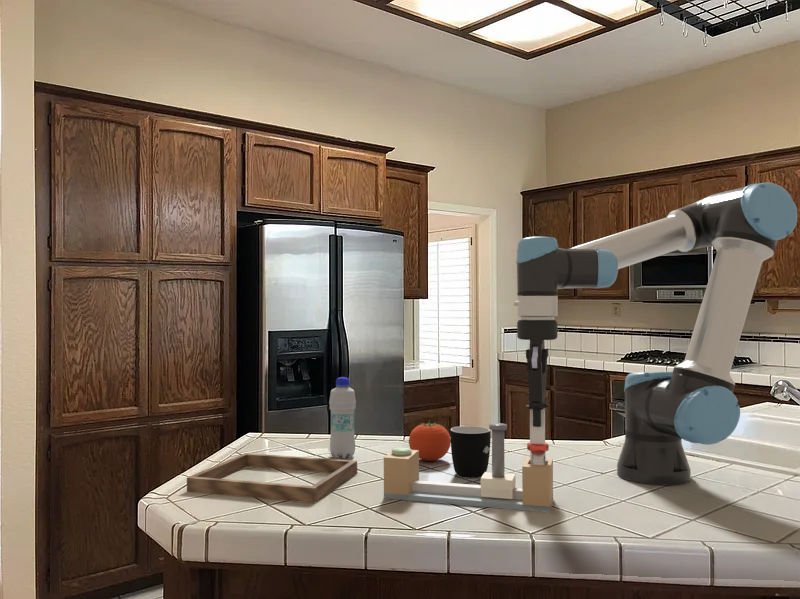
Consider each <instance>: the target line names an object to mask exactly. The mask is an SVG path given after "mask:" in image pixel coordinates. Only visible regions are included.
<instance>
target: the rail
mask: <svg viewBox="0 0 800 599" xmlns="http://www.w3.org/2000/svg"><path fill="white" fill-rule="evenodd" d="M545 463H546V465H533V464H530V456H526V457H525V460H524V462H523V464H522V468H521V469H522V471H521V474H522V475H521V476H522V480H521V482H522V484H521V485H522V488H521V487H515V488H514V489H513V499H503V498H491V497H481V484H469V483H468V484H467V483H455V482H443V481H430V480H429V481H428V480H420V458H419V450H411V449H410V447H394V448H392V449H391V452H389V453H388V454H387V455H385V456H384V457H383V498H384V499H389V500H390V499H391V500H403V501H412V502H413V501H415V502H422V503H423V502H424V503H425V502H427V503H434V504H435V503H437V504H450V505H451V504H452V505H459V506H460V505H461V506H474V507H483V508H494V509H495V508H497V509H507V510H517V511H518V510H519V511H520V510H522V511H533V512H543V513H551V510H552V506H553V501H554V459H553V458H549V457H547V458H546V457H545Z"/></svg>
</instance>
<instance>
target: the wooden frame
mask: <svg viewBox="0 0 800 599" xmlns="http://www.w3.org/2000/svg"><path fill="white" fill-rule="evenodd" d="M247 467H251V468H252V467H253V468H261V469H263V468H264V469H275V470H276V469H279V470H280V469H281V470H289V471H304V472H315V473H316V472H317V473H318V472H319V473H328V474H329V475H327V476H326V477H324V478H322V479H321V480H319V481H318V482H315V483H314V484H313V485H300V484H289V483H275V482H266V481H264V482H263V481H253V480H252V481H251V480H240V479H228V478H227V479H226V478H225V477H227V476H229V475H232V474H235V473H236V472H239V471H240V470H243V469H245V468H247ZM357 474H358V460H351V459H339V458H338V459H337V458H324V457H322V458H320V457H307V456H291V455H279V454H278V455H276V454H264V453H263V454H262V453H250V452H249V453H248V452H246V453H242V454H240V455H238V456H235V457H233V458H230V459H228V460H226V461H223V462H221V463H219V464H217V465H214V466H211V467H209V468H207V469H205V470H202V471H200V472H197V473H194V474H192V475H190V476H188V477H186V492H190V493H200V494H211V495H213V494H214V495H221V496H234V497H235V496H236V497H244V498H257V499H266V500H269V499H270V500H279V501H291V502H300V503H313V504H315V503H317V502H318V501H319V500H321V499H322V498H324V497H326V496H327V495H329V494H330V493H331V492H332V491H334V490H335V489H338V487H339V486H341V485H342V484H344V483H345V482H346V481H348V480H350V479H351V478H353V477H354V476H355V475H357Z"/></svg>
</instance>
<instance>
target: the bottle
mask: <svg viewBox="0 0 800 599" xmlns="http://www.w3.org/2000/svg"><path fill="white" fill-rule="evenodd" d="M335 386H336V387H334V388H332V389H331V390H330V395H329V401H328V404H329V410H330V442H329V451H330V452H329V453H330V456H331V457H332V458H334V459H338V460H339V459H340V456H341V458H342V460H346V457H347V458H348V459H349V458H352V457H353V456H354V454H355V452H356V438H355V410H356V408H357V407H356V404H357V400H356V394H355V389H353V388H351V387H350V379H349V377H345V376H340V377H337V378H336V380H335Z"/></svg>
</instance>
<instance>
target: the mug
mask: <svg viewBox="0 0 800 599" xmlns="http://www.w3.org/2000/svg"><path fill="white" fill-rule="evenodd" d="M449 435H450V440H451V443H450V453H451V459H452V465H453V469H454V472H455V474H456V476H458V477H459V478H464V479H479V478H480V479H481V477H482V475H483V474H484V473H485V472H488V467H489V461H490V452H491V442H492V430H490V429H489V427H484V426H477V425H461V426H460V425H459V426H454V427H451V428H450V431H449Z"/></svg>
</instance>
